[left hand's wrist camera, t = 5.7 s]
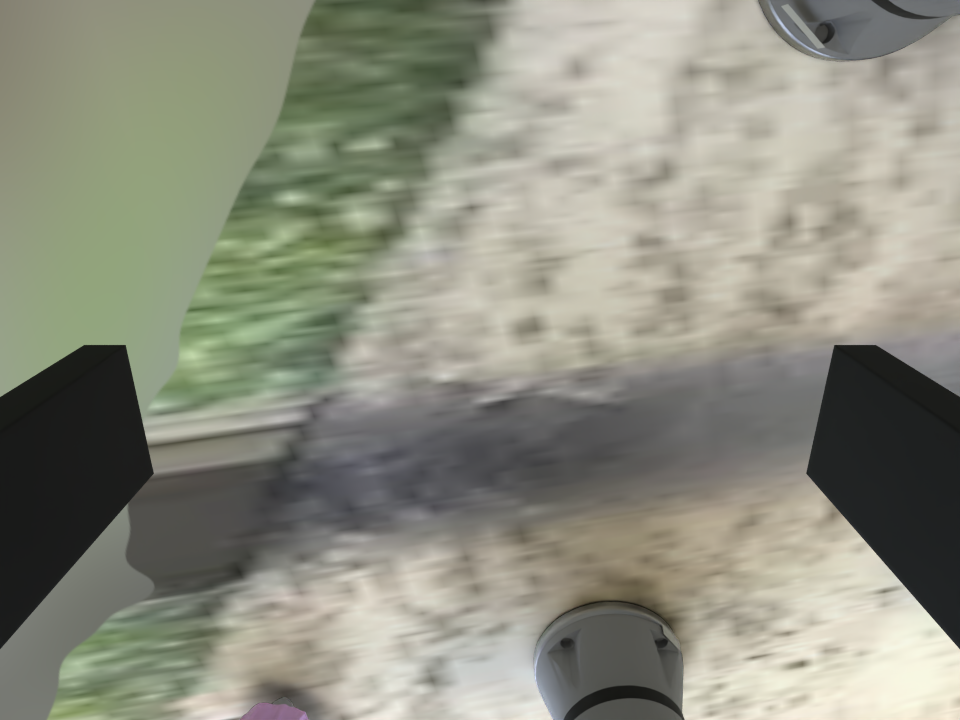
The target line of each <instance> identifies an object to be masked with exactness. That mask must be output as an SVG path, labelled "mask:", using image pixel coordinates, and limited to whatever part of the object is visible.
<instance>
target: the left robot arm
mask: <svg viewBox="0 0 960 720" xmlns="http://www.w3.org/2000/svg"><path fill="white" fill-rule="evenodd" d="M153 474H154V473H153V468H152V464H151V459H150V454H149V450H148V445H147V441H146V436H145V432H144V427H143V422H142V418H141V413H140V409H139V404H138V400H137V395H136V390H135V386H134V381H133V377H132V372H131V368H130V363H129V359H128V354H127V349H126V345H84V346H82V347H80V348H79V349H77V350H76V351H74V352H72V353H71V354H69V355H67V356H66V357H64V358H63V359H61V360H59V361H58V362H56V363H55V364H53V365H51V366H50V367H48V368H47V369H45V370H43V371H42V372H40V373H38V374H37V375H35V376H34V377H32V378H30V379H29V380H27V381H25V382H24V383H22V384H21V385H19V386H18V387H16V388H14V389H13V390H11V391H9V392H8V393H6V394H4V395H3V396H1V397H0V649H1V648H2V646H3V645H4V644H5V643H6V642H7V641H8V639H9V638H10V637H11V636H12V635H13V634H14V633H15V632H16V630H17V629H18V628H19V627H20V626H21V625H22V624H23V622H24V621H25V620H26V619H27V618H28V617H29V615H30V614H31V613H32V612H33V611H34V610H35V609H36V607H37V606H38V605H39V604H40V603H41V602H42V601H43V599H44V598H45V597H46V596H47V595H48V594H49V593H50V592H51V590H52V589H53V588H54V587H55V586H56V585H57V583H58V582H59V581H60V580H61V579H62V578H63V577H64V575H65V574H66V573H67V572H68V571H69V570H70V569H71V567H72V566H73V565H74V564H75V563H76V562H77V561H78V559H79V558H80V557H81V556H82V555H83V554H84V553H85V551H86V550H87V549H88V548H89V547H90V546H91V545H92V543H93V542H94V541H95V540H96V539H97V538H98V537H99V535H100V534H101V533H102V532H103V531H104V530H105V529H106V527H107V526H108V525H109V524H110V523H111V522H112V521H113V519H114V518H115V517H116V516H117V515H118V514H119V513H120V511H121V510H122V509H123V508H124V507H125V506H126V505H127V503H128V502H129V501H130V500H131V499H132V498H133V497H134V495H135V494H136V493H137V492H138V491H139V490H140V489H141V487H142V486H143V485H144V484H145V483H146V482H147V481H148V479H149V478H150V477H151V476H152V475H153ZM806 474H807V475H808V476H809V477H810V478H811V479H812V481H813V482H814V483H815V484H816V485H817V486H818V487H819V489H820V490H821V491H822V492H823V493H824V494H825V495H826V497H827V498H828V499H829V500H830V501H831V502H832V503H833V505H834V506H835V507H836V508H837V509H838V510H839V511H840V513H841V514H842V515H843V516H844V517H845V518H846V519H847V521H848V522H849V523H850V524H851V525H852V526H853V527H854V529H855V530H856V531H857V532H858V533H859V534H860V535H861V537H862V538H863V539H864V540H865V541H866V542H867V543H868V545H869V546H870V547H871V548H872V549H873V550H874V551H875V553H876V554H877V555H878V556H879V557H880V558H881V559H882V561H883V562H884V563H885V564H886V565H887V566H888V567H889V569H890V570H891V571H892V572H893V573H894V574H895V575H896V577H897V578H898V579H899V580H900V581H901V582H902V583H903V585H904V586H905V587H906V588H907V589H908V590H909V592H910V593H911V594H912V595H913V596H914V597H915V598H916V600H917V601H918V602H919V603H920V604H921V605H922V606H923V608H924V609H925V610H926V611H927V612H928V613H929V614H930V616H931V617H932V618H933V619H934V620H935V621H936V622H937V624H938V625H939V626H940V627H941V628H942V629H943V630H944V632H945V633H946V634H947V635H948V636H949V637H950V638H951V640H952V641H953V642H954V643H955V644H956V645H957V646H958V648H959V649H960V397H959V396H957V395H956V394H954V393H952V392H951V391H949V390H947V389H946V388H944V387H943V386H941V385H939V384H938V383H936V382H935V381H933V380H931V379H930V378H928V377H926V376H925V375H923V374H922V373H920V372H918V371H917V370H915V369H914V368H912V367H910V366H909V365H907V364H905V363H904V362H902V361H901V360H899V359H897V358H896V357H894V356H893V355H891V354H889V353H888V352H886V351H884V350H883V349H881V348H880V347H878V346H876V345H834V349H833V354H832V358H831V363H830V368H829V372H828V377H827V381H826V386H825V390H824V395H823V400H822V404H821V409H820V413H819V418H818V422H817V427H816V432H815V436H814V441H813V445H812V450H811V454H810V459H809V464H808V468H807V473H806ZM534 670H535V679H536V683H537V687H538V689H539V692H540V694H541V696H542V698H543V700H544V702H545V704H546V706H547V708H548V710H549V712H550V714H551V716H552V718H553V720H684V717H683V714H682V698H683V658H682V653H681V649H680V644H679V641H678V640H677V638H676V637H675V634H674V632H673V631H672V629H671V628H670V626H669V625H668V624H667V623H666V622H665V621H664V620H663V619H662V618H661V617H659V616H658V615H657V614H655V613H653V612H652V611H650V610H648V609H646V608H643V607H640V606H637V605H634V604H629V603H623V602H600V603H594V604H589V605H585V606H582V607H579V608H576V609H574V610H572V611H569V612H568V613H566V614H564V615H562V616H561V617H559V618H558V619H557V620H555V621H554V622H553V623H552V624H551V625H550V626H549V627H548V628H547V629H546V630H545V631H544V633H543V634H542V636H541V637H540V639H539V641H538V643H537V646H536V649H535V653H534Z"/></svg>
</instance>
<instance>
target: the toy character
mask: <svg viewBox="0 0 960 720" xmlns="http://www.w3.org/2000/svg"><path fill="white" fill-rule="evenodd" d="M240 720H309V719H308V717H307V715H306V712H305V711H301V710H299V709H297V708H295V707H294V705H293V703H292V702H291V700H290V699H288V698H285V697H283V698H280V699H278V700H276V701H275V702H273V703H272V704H270V703H258V704H256V705H255V706H254V707H252V708H251V710H250V711H249V712H248V713H247V714H245V715H244V716H243V717H242V718H241V719H240Z"/></svg>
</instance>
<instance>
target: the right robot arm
mask: <svg viewBox="0 0 960 720" xmlns="http://www.w3.org/2000/svg"><path fill="white" fill-rule="evenodd" d="M759 3H760V5H761V7H762V10H763V12H764V14H765V16H766V17H767V19H768V21H769V22H770V24H771V25H772V27H773V28H774V29H775V31H776V32H777V33H778V34H779V35H780V36H781V37H782V38H783V39H784V40H785V41H786V42H788V43H789V44H790V45H791V46H793V47H794V48H796V49H798V50H799V51H801V52H803V53H805V54H807V55H810V56H813V57H816V58H819V59H824V60H830V61H854V60H864V59H871V58H876V57H881V56H884V55H887V54H890V53H893V52H895V51H898V50H900V49H902V48H904V47H906V46H908V45H910V44H912V43H914V42H916V41H917V40H919V39H921V38H922V37H924V36H925V35H927V34H928V33H930V32H931V31H933V30H934V29H935V28H937V27H938V26H940V25H941V24H942V23H944V22H945V21H946V20H948V19H949V18H950V17H952V16H953V15H960V0H759Z"/></svg>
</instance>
